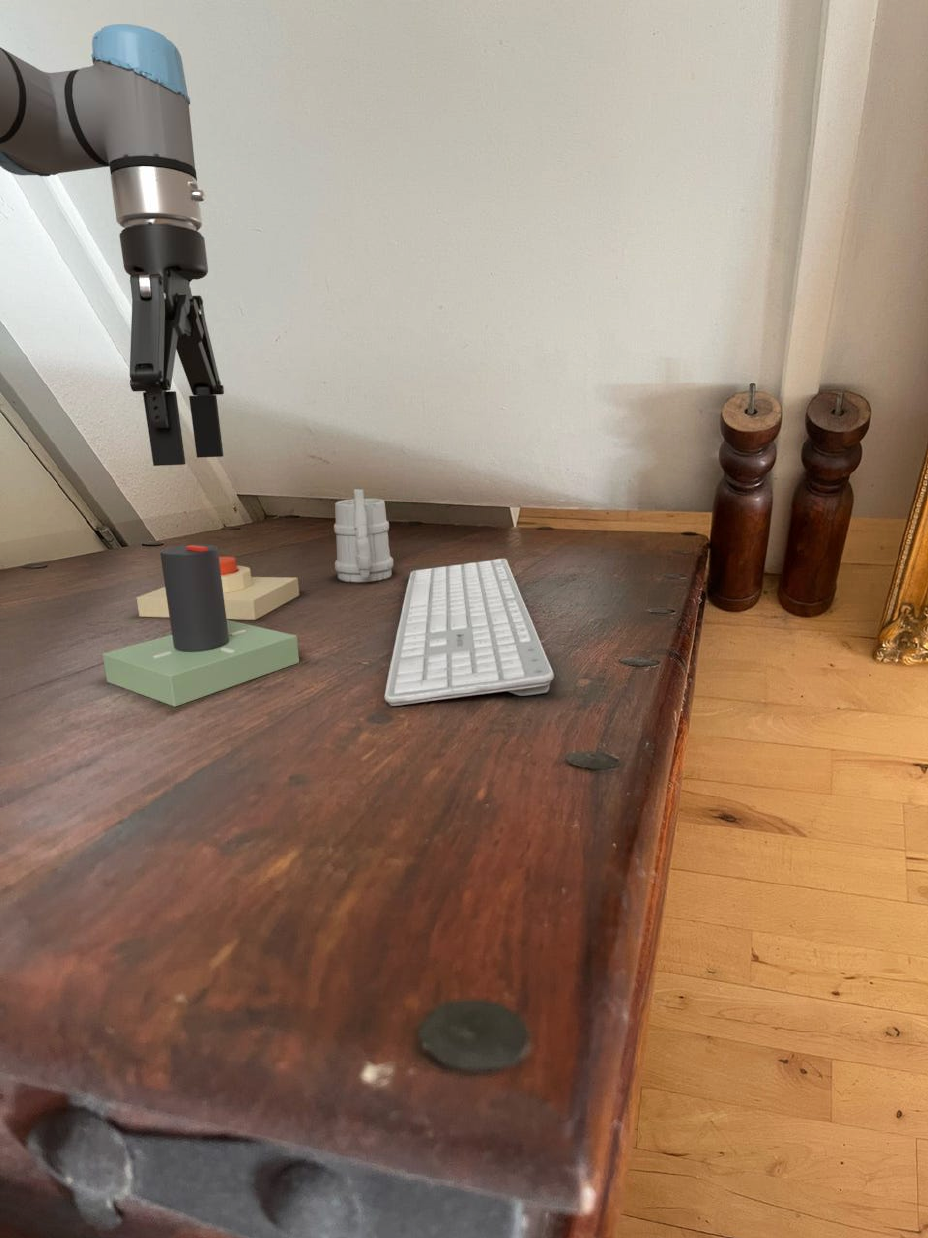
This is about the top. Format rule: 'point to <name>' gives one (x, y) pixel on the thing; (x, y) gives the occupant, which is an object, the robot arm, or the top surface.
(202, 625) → the dial
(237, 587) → the button base
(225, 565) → the switch
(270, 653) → the dial panel
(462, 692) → the keyboard
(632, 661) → the top surface
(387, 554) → the mug
